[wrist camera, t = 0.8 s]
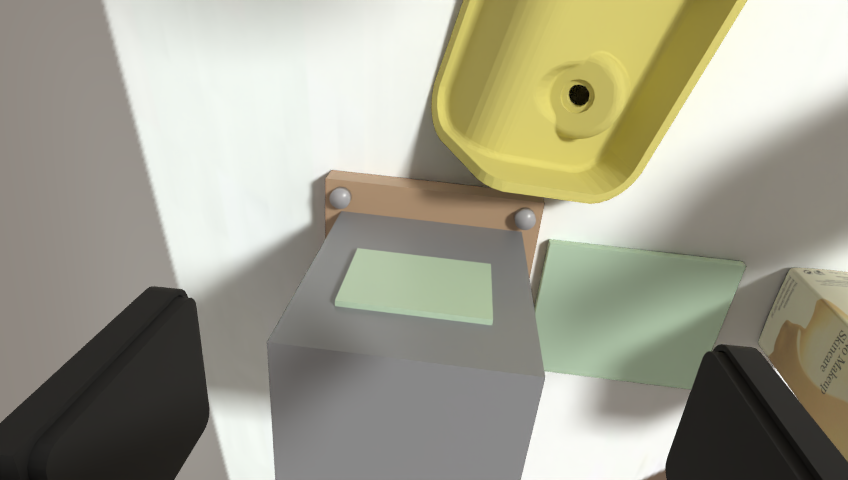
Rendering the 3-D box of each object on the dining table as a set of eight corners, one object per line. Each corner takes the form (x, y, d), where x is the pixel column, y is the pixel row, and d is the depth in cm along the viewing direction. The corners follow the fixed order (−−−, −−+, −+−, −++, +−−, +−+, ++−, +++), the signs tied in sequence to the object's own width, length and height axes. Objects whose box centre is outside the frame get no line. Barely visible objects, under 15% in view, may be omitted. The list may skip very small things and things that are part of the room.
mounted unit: (331, 170, 33) (238, 296, 21) (541, 193, 33) (582, 339, 20) (330, 327, 39) (256, 505, 26) (511, 350, 38) (527, 543, 25)
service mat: (549, 239, 34) (550, 243, 34) (742, 261, 34) (746, 266, 33) (522, 362, 39) (523, 368, 38) (692, 384, 38) (695, 390, 38)
